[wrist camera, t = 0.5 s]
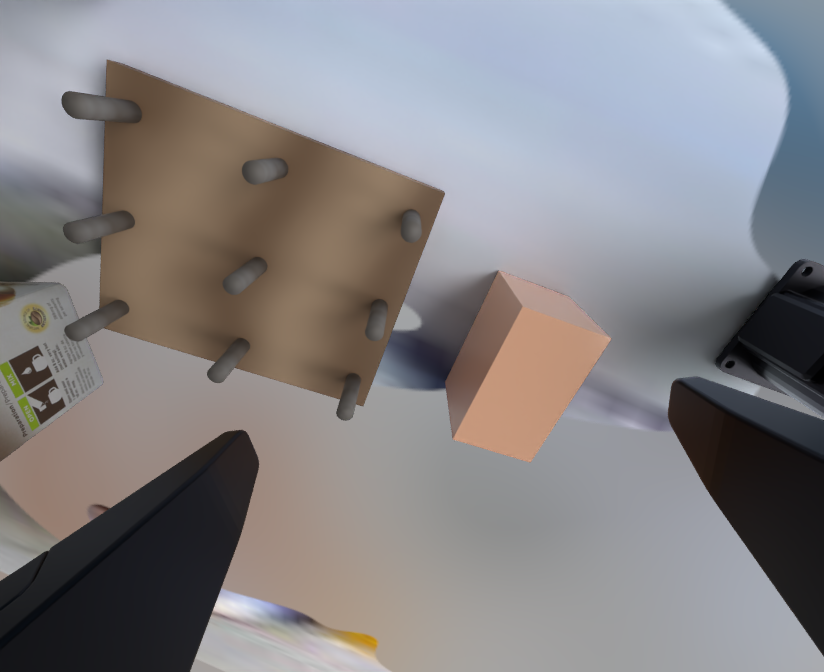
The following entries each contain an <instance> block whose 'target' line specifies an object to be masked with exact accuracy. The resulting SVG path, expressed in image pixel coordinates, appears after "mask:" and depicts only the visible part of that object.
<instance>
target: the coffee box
mask: <svg viewBox="0 0 824 672" xmlns="http://www.w3.org/2000/svg"><path fill="white" fill-rule="evenodd" d="M77 320H79V318H78V315H77V313H76V310H75V308H74V305H73V303H72V300H71V298H70V295H69V293H68V290H67V289H66V287H65V286H63V285H62V284H60V283H43V282H0V461H2V460H3V459H4V458H6V457H7V456H8V455H10V454H11V453H12V452H14V451H15V450H16V449H18V448H19V447H20V446H22V445H23V444H24V443H25V442H26V441H28V440H29V439H31V438H32V437H33V436H35V435H36V434H37V433H39V432H40V431H41V430H43V429H44V428H46V426H48V425H50V424H51V423H52V422H53V421H55V420H56V419H57V418H59V417H60V416H61V415H63V414H64V413H65V412H67V411H68V410H69V409H71V408H72V407H73V406H74V405H76V404H77V403H78V402H80V401H81V400H83V399H84V398H85V397H87V396H88V395H89V394H90V393H92V392H93V391H94V390H96V389H97V388H99V387H100V386H101V385H102V384H103V378H102V375H101V373H100V370H99V368H98V365H97V363H96V360H95V358H94V355H93V353H92V350H91V348H90V345H89V343H88V340H87V338H85V339H84V340H82V341H79V342H76V341H73V340H71V339H69V338H68V337H67V336H66V334H65V332H64V329H65V327H66V326H67V325H69V324H71V323H73V322H75V321H77Z"/></svg>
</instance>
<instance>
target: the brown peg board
mask: <svg viewBox="0 0 824 672" xmlns="http://www.w3.org/2000/svg"><path fill="white" fill-rule="evenodd" d="M61 101H62V106H63V108H64V110H65V111H66V113H67V114H68V115H70V116H71V117H73V118H76V119H86V120H99V121H105V136H104V170H103V204H102V215H100V216H95V217H91V218H86V219H82V220H78V221H73V222H69V223H66V224H65V225H64V227H63V232H64V235H65V236H66V238H67V239H68V240H70V241H71V242H73V243H76V244H80V243H83V242H87V241H90V240H94V239H97V238H100V237H102V238H101V272H100V273H101V274H100V306H99V309H98V310H96V311H94V312H92V313H90V314H88V315H86V316H85V317H83V318H81V319H79V320H77V321H75V322H73V323H71V324H69V325H67V326H66V327H65V329H64V332H65V334H66V336H67V337H68V338H69V339H71V340H73V341H76V342H79V341H82V340H84V339H85V338H87V337H89V336H90V335H92V334H94V333H96V332H97V331H99V330H101V329H102V328H105V329H108V330H111V331H115V332H118V333H121V334H125V335H128V336H131V337H135V338H138V339H141V340H145V341H148V342H151V343H154V344H158V345H161V346H164V347H168V348H171V349H175V350H178V351H181V352H184V353H188V354H191V355H194V356H198V357H201V358H204V359H207V360H211V361H214V362H215V364H214V365H213V366H212V367H211V368H210V369H209V370H208V372H207V376H208V378H209V379H210V380H211V381H213V382H215V383H221V382H223V381H224V380H225V379H226V377H227V376H228V375H229V374H230V373H231V371H232V370H233V369H234V368H237V369H241V370H244V371H247V372H251V373H254V374H257V375H261V376H264V377H268V378H270V379H274V380H278V381H280V382H284V383H287V384H290V385H294V386H297V387H300V388H304V389H307V390H310V391H314V392H317V393H320V394H324V395H327V396H330V397H334V398H337V399H340V402H339V405H338V409H337V412H336V414H337V416H338V417H339V418H340V419H341V420H350V419H351V418H352V417H353V414H354V410H355V405H356V404H357V405H360V406H363V405H364V403H365V400H366V397H367V395H368V392H369V390H370V387H371V385H372V382H373V379H374V377H375V374H376V372H377V369H378V366H379V364H380V361H381V359H382V356H383V353H384V351H385V348H386V346H387V343H388V340H389V338H390V335H391V333H392V330H393V327H394V325H395V322H396V320H397V317H398V314H399V312H400V309H401V307H402V304H403V301H404V299H405V296H406V294H407V291H408V288H409V286H410V283H411V281H412V278H413V275H414V273H415V270H416V268H417V265H418V262H419V260H420V257H421V255H422V252H423V249H424V247H425V244H426V242H427V239H428V237H429V234H430V231H431V229H432V226H433V224H434V221H435V218H436V216H437V213H438V211H439V208H440V205H441V203H442V200H443V198H444V195H445V193H444V191H442V190H439V189H437V188H434V187H432V186H429V185H427V184H424V183H422V182H419V181H417V180H414V179H412V178H409V177H407V176H404V175H401V174H399V173H396V172H394V171H391V170H389V169H386V168H384V167H381V166H379V165H376V164H374V163H371V162H369V161H366V160H364V159H361V158H359V157H356V156H354V155H351V154H349V153H346V152H344V151H341V150H339V149H336V148H334V147H331V146H329V145H326V144H324V143H321V142H318V141H316V140H313V139H311V138H308V137H306V136H303V135H301V134H298V133H296V132H293V131H291V130H288V129H286V128H283V127H281V126H278V125H276V124H273V123H271V122H268V121H266V120H263V119H261V118H258V117H256V116H253V115H251V114H248V113H246V112H243V111H241V110H238V109H235V108H233V107H230V106H228V105H225V104H223V103H220V102H218V101H215V100H213V99H210V98H208V97H205V96H203V95H200V94H198V93H195V92H193V91H190V90H188V89H185V88H183V87H180V86H178V85H175V84H173V83H170V82H168V81H165V80H163V79H160V78H158V77H155V76H152V75H150V74H147V73H145V72H142V71H140V70H137V69H135V68H132V67H130V66H127V65H125V64H122V63H118V62H114V61H111V60H107V68H106V97H104V96H98V95H91V94H85V93H78V92H72V91H68V92H65V93H64V94H63V96H62V100H61Z"/></svg>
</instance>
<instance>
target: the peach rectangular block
mask: <svg viewBox="0 0 824 672" xmlns="http://www.w3.org/2000/svg"><path fill="white" fill-rule="evenodd" d="M611 339H612V338H611V337H610V336H609V335H608V334H607V333H605V332H604V331H603V330H602V329H601V328H600V327H599V326H598V325H597V324H596V323H595V322H594V321H593V320H592V319H591V318H590V317H589V316H588V315H587V314H586V313H585V312H584V311H583V310H582V309H581V308H580V307H579V306H578V305H577V304H576V303H575V302H574V301H573V300H572V299H571V298H570V297H569V296H566V295H563V294H561V293H558V292H555V291H553V290H550V289H547V288H545V287H542V286H539V285H537V284H534V283H531V282H529V281H526V280H523V279H521V278H518V277H515V276H513V275H510V274H507V273H505V272H502V271H499V270H498V273H497V275H496V277H495V279H494V281H493V283H492V285H491V287H490V289H489V291H488V293H487V295H486V298H485V300H484V302H483V304H482V306H481V308H480V310H479V312H478V314H477V316H476V318H475V321H474V323H473V325H472V327H471V329H470V331H469V333H468V335H467V337H466V339H465V341H464V344H463V346H462V348H461V350H460V352H459V354H458V356H457V358H456V360H455V362H454V364H453V366H452V369H451V371H450V373H449V375H448V377H447V379H446V381H445V385H446V392H447V400H448V407H449V415H450V423H451V430H452V438H453V439H454V440H457V441H460V442H463V443H467V444H470V445H473V446H477V447H480V448H483V449H487V450H490V451H494V452H497V453H500V454H504V455H507V456H510V457H514V458H517V459H521V460H524V461H527V462H531V461H532V459H533V458H534V456H535V454H536V453H537V452H538V450H539V448H540V447H541V446H542V444H543V442H544V441H545V439H546V438H547V436H548V435H549V433H550V432H551V430H552V429H553V427H554V426H555V424H556V422H557V421H558V420H559V418H560V417H561V415H562V414H563V412H564V411H565V409H566V407H567V406H568V404H569V403H570V401H571V400H572V398H573V397H574V395H575V394H576V392H577V391H578V389H579V388H580V386H581V385H582V383H583V382H584V380H585V379H586V377H587V376H588V374H589V373H590V371H591V369H592V368H593V366H594V365H595V363H596V362H597V360H598V359H599V357H600V356H601V354H602V353H603V351H604V350H605V348H606V347H607V345H608V344H609V342H610V341H611Z"/></svg>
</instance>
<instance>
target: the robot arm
mask: <svg viewBox="0 0 824 672" xmlns="http://www.w3.org/2000/svg"><path fill="white" fill-rule="evenodd" d="M804 268H806V269H805V270H804V272H802V271H803V269H804ZM728 361H729V363H727V362H728ZM726 363H727V364H726ZM715 364H716V367H718V368H719V369H720V370H722V371H723V372H725V373H728V374H731V375H733V376H736V377H739V378H742V379H744V380H747V381H750V382H753V383H755V384H758V385H761V386H764V387H766V388H769V389H772V390H774V391H777V392H780V393H783V394H785V395H788V396H791V397H793V398H794V399H796V400H797V401H799V402H800V403H802V404H803V405H805V406H806V407H808V408H809V409H811V410H812V411H814V412H815V413H817V414H818V415H820V416H821V417H822V418H824V266H823V265H821V264H819V263H816V262H813V261H810V260H806V259H802V260H799V261H797V262H795V263H794V264H793V265H792V266H791V268H790V269H789V270H788V271H787V273H786V274H785V275H784V276H783V277H782V279H781V280H780V281H779V282H778V284H777V285H776V286H775V287H774V289H773V290H772V291H771V292H770V293H769V295H768V296H767V297H766V298H765V300H764V301H763V302H762V303H761V305H760V306H759V307H758V308H757V310H756V311H755V312H754V313H753V315H752V316H751V317H750V318H749V320H748V321H747V322H746V323H745V325H744V326H743V327H742V328H741V329H740V331H739V332H738V333H737V334H736V336H735V337H734V338H733V339H732V341H731V342H730V343H729V344H728V346H727V347H726V348H725V349H724V351H723V352H722V353H721V354H720V356H719V357H718V358H717V360H716V363H715ZM668 418H669V422H670V425H671V427H672V428H673V430H674V432H675V434H676V435H677V437H678V439H679V441H680V443H681V445H682V446H683V448H684V450H685V451H686V454H687V455H688V457H689V459H690V461H691V462H692V464H693V466H694V468H695V470H696V471H697V473H698V475H699V477H700V479H701V480H702V482H703V484H704V485H705V487H706V489H707V490H708V492H709V494H710V495H711V497H712V498H713V500H714V501H715V502H716V504H717V505H718V507H719V508H720V510H721V511H722V513H723V514H724V515H725V517H726V518H727V520H728V521H729V523H730V524H731V525H732V527H733V528H734V530H735V531H736V532H737V534H738V535H739V537H740V538H741V540H742V541H743V542H744V544H745V545H746V547H747V548H748V550H749V551H750V552H751V554H752V555H753V557H754V558H755V559H756V561H757V562H758V564H759V565H760V567H761V568H762V569H763V571H764V572H765V573H766V575H767V576H768V578H769V579H770V581H771V582H772V584H773V585H774V586H775V588H776V589H777V591H778V592H779V593H780V595H781V596H782V598H783V599H784V601H785V602H786V603H787V605H788V606H789V608H790V609H791V611H792V612H793V613H794V614H795V616H796V618H797V619H798V621H799V622H800V623H801V625H802V626H803V628H804V629H805V630H806V632H807V633H808V635H809V636H810V637H811V639H812V640H813V642H814V643H815V645H816V646H817V648H818V649H819V650H820V652H821V653H822V655H823V656H824V420H822V419H819V418H817V417H814V416H811V415H808V414H805V413H802V412H799V411H796V410H793V409H790V408H788V407H785V406H782V405H779V404H776V403H773V402H770V401H767V400H764V399H761V398H758V397H756V396H753V395H750V394H747V393H744V392H741V391H738V390H735V389H732V388H729V387H727V386H724V385H721V384H718V383H715V382H712V381H709V380H706V379H703V378H700V377H688V378H679V379H676V380H674V381H673V383H672V386H671V392H670V400H669V408H668ZM258 468H259V460H258V457H257V454H256V452H255V449H254V447H253V445H252V442H251V440H250V438H249V435H248V434H247V432H246V431H243V430H236V431H228V432H225V433H223V434H221V435H220V436H219V437H217V438H215V439H214V440H213V441H211V442H209V443H208V444H207V445H205V446H203V447H202V448H200V449H199V450H198V451H196V452H194V453H193V454H191V455H190V456H188V457H187V458H185V459H184V460H182V461H181V462H179V463H178V464H176V465H175V466H173V467H172V468H170V469H169V470H167V471H166V472H164V473H163V474H161V475H160V476H158V477H157V478H156V479H154V480H152V481H151V482H149V483H148V484H146V485H145V486H143V487H142V488H140V489H139V490H137V491H136V492H134V493H133V494H131V495H130V496H128V497H127V498H125V499H124V500H122V501H121V502H119V503H118V504H116V505H115V506H113V507H112V508H110V509H109V510H107V511H106V512H104V513H103V514H101V515H100V516H98V517H97V518H95V519H94V520H92V521H91V522H89V523H88V524H86V525H84V526H83V527H81V528H80V529H79V530H77V531H75V532H74V533H72V534H71V535H70V536H68V537H67V538H65V539H63V540H62V541H60V542H59V543H57V544H56V545H54V546H53V547H51V549H50V550H49V551H46V552H44V553H42V554H41V555H39V556H38V557H36V558H35V559H33V560H32V561H30V562H29V563H27V564H26V565H24V566H23V567H21V568H20V569H18V570H17V571H15V572H13V573H12V574H10V575H9V576H7V577H6V578H4V579H3V580H1V581H0V672H190V670H191V667H192V665H193V662H194V659H195V657H196V654H197V651H198V649H199V646H200V643H201V641H202V638H203V635H204V633H205V630H206V627H207V625H208V622H209V619H210V617H211V614H212V611H213V609H214V606H215V603H216V601H217V598H218V595H219V593H220V590H221V587H222V585H223V582H224V579H225V576H226V574H227V571H228V568H229V566H230V563H231V560H232V558H233V555H234V552H235V550H236V547H237V544H238V541H239V538H240V535H241V532H242V529H243V525H244V522H245V518H246V515H247V511H248V507H249V503H250V499H251V496H252V492H253V488H254V484H255V480H256V477H257V473H258Z"/></svg>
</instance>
